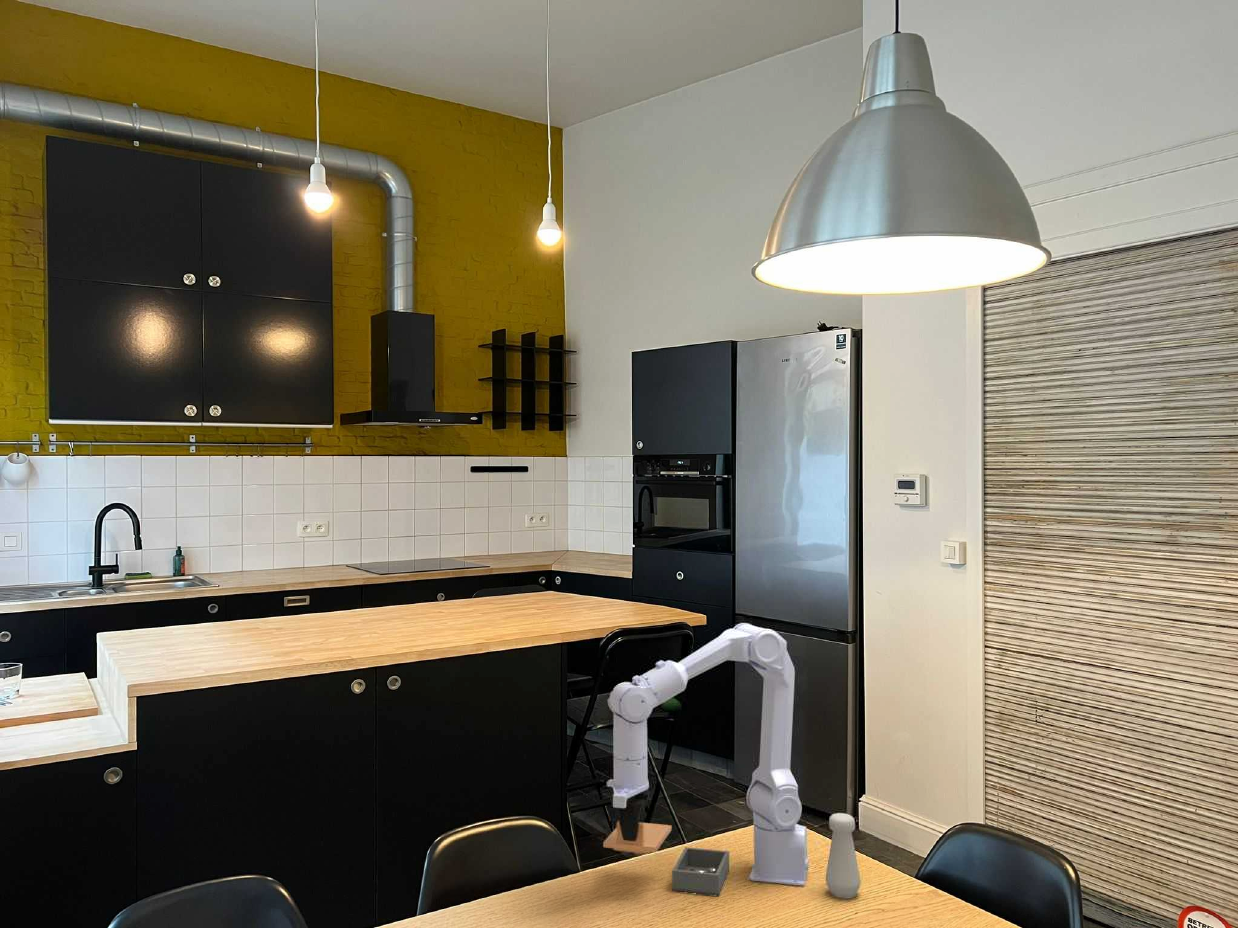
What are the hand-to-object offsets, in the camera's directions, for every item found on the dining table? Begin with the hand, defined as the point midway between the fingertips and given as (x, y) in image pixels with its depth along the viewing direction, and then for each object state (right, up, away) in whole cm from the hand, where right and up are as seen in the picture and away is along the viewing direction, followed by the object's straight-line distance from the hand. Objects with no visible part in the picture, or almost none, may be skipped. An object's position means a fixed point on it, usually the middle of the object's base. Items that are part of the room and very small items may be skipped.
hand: (631, 837), depth 155 cm
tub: (+12, -10, +6) cm, 17 cm away
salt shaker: (+36, -10, +1) cm, 37 cm away
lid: (+1, -2, +5) cm, 5 cm away
